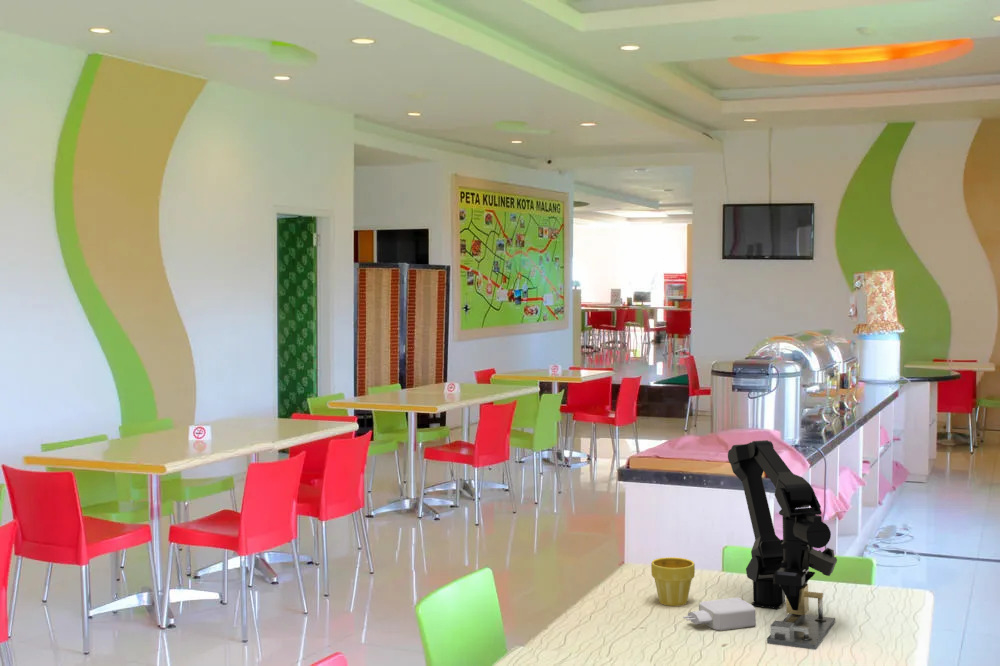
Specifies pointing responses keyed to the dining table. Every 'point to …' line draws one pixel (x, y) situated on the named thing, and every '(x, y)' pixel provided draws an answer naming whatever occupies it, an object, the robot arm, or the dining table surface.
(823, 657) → the dining table surface
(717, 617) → the charger
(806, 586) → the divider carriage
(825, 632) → the dividers base
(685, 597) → the plant pot
